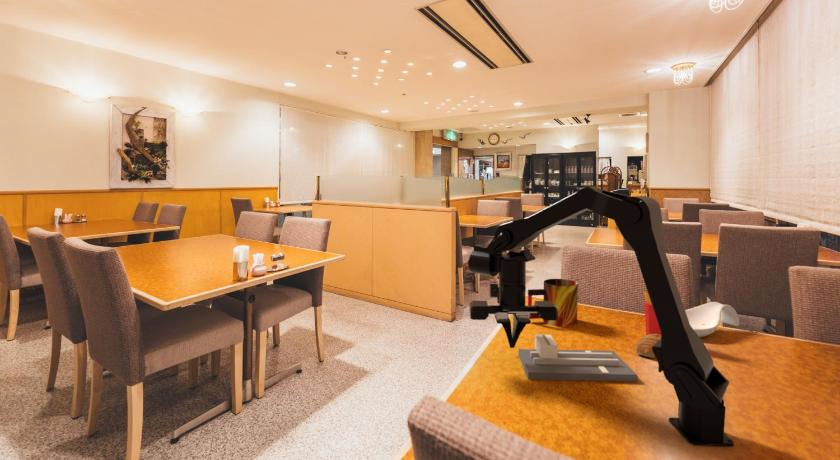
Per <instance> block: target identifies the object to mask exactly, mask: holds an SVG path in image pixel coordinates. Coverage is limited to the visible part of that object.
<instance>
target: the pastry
mask: <svg viewBox="0 0 840 460" xmlns="http://www.w3.org/2000/svg"><path fill="white" fill-rule="evenodd" d="M660 339H661V335H659V334H649V335H646V334H645V336H642V337H641V338H640V339H639V340H637V342H636V346H635V347H636V348H635V351H636V354H637V355H638V356H643V357H647V358H651V359H656V357H655V355H654V353H653V350H652V347H653V346H654V345H655V344H656V343H657V342H658V341H659V340H660Z"/></svg>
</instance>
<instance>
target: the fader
mask: <svg viewBox="0 0 840 460" xmlns="http://www.w3.org/2000/svg"><path fill="white" fill-rule="evenodd" d="M558 347H559V346H558V343H557V342H556V340H555V339H554V338H553V336H552V335H551V334H534V349H536V350H537V352H538V354H539V356H540V358H554V359H557V355H558V350H559V349H558Z"/></svg>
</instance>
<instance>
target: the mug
mask: <svg viewBox="0 0 840 460" xmlns="http://www.w3.org/2000/svg"><path fill="white" fill-rule="evenodd" d="M578 294H579V283H578V282H577V281H575V280H572V279H567V278H548V279H545V280H544V281H543V288H538V289H533V288H532V289H527V306H533V296H543V300H542V301H550V302H551V303H552V304H553V305H554V306H555V307H556V308H557V310H558V320H543V319H542V318H541V317H540V314H530V316H529V319H530V320H533V319H534V320H535V319H538V320H539V319H542V321H543V322H544V323H545V324H548V325H550V326H554V327H559V328H560V327H561V328H565V327H566V328H567V327H568V328H569V327H574V326H576V325H577V324H578V298H579V297H578Z"/></svg>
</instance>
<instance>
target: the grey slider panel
mask: <svg viewBox="0 0 840 460" xmlns="http://www.w3.org/2000/svg"><path fill="white" fill-rule="evenodd" d="M517 349H518V348H517ZM517 352H518V355H517V356H518V358H519V360H520V363H521V365H522V367H523V370H524V372H525V375H526V377H527V380H546V381H547V380H551V381H553V380H554V381H556V380H557V381H589V382H590V381H594V382H596V381H599V382H634V383H635V382H638V374H637V373H636V372H635V370H633V369H632V368H631V367H630V366H629V365H628V364H627V363H626V362H625V361H624V360H623V359H622V357H620V356H619V355H618V354H617V353H616V352H615V351H614V350H597V349H596V350H592V349H591V350H590V349H589V350H588V349H586V350H585V349H584V350H583V349H558V355H557V359H554V358H540V356H539V354H538V352H537V350H536V348H534V349H531V348H530V349H528V348H524V349H523V348H519V349H518V351H517Z"/></svg>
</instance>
